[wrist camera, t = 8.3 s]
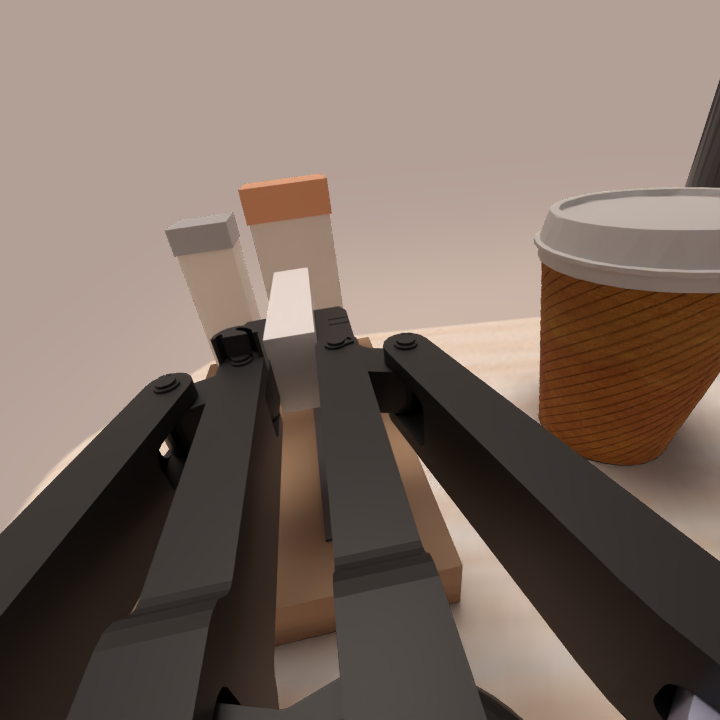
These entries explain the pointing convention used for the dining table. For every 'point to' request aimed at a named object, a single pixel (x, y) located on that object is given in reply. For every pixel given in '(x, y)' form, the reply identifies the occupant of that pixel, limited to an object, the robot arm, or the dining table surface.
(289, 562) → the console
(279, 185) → the orange topped beige block
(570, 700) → the dining table surface
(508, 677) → the dining table surface
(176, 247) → the grey topped white block
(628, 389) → the disposable coffee cup
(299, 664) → the dining table surface
